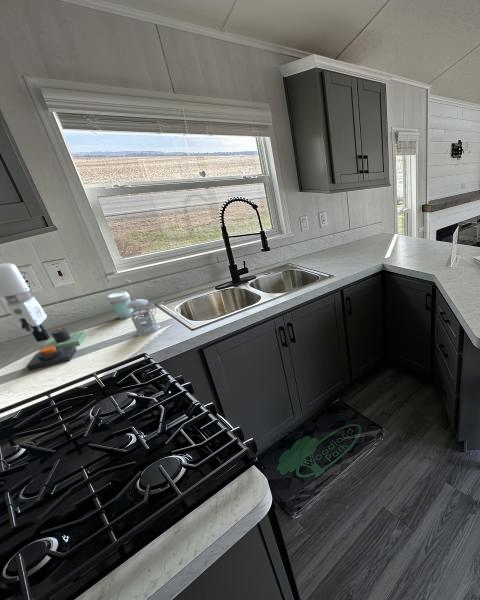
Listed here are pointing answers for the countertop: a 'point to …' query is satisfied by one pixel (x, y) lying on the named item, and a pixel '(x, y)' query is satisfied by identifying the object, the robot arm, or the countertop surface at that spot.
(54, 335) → the temp dial
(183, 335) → the countertop surface
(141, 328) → the french press
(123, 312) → the coffee cup
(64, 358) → the kettle base
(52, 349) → the button
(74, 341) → the dial panel
